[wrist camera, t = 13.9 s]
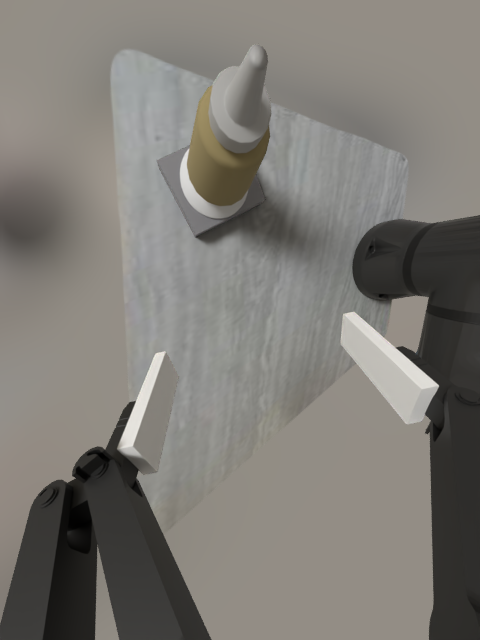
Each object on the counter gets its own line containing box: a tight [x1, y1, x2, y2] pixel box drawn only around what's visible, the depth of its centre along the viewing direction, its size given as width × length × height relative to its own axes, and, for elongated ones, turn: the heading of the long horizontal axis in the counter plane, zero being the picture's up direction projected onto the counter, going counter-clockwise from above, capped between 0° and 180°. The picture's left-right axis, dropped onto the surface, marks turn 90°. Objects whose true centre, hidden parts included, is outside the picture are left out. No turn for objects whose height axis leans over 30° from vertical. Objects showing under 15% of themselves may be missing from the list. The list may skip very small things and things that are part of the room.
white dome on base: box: [157, 145, 266, 237], centre depth 29 cm, size 12×10×3 cm
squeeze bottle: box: [187, 44, 271, 206], centre depth 20 cm, size 8×8×18 cm
